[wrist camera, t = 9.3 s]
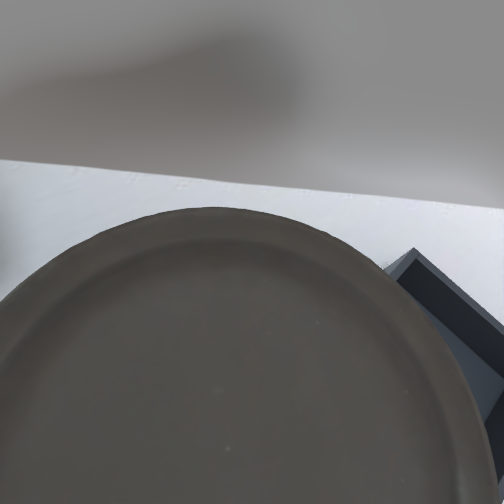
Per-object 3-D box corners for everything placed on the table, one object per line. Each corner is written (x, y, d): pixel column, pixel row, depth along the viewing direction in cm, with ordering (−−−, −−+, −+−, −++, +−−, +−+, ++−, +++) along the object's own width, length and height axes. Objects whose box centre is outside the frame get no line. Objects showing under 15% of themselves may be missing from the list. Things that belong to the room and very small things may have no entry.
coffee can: (75, 384, 19) (-181, 329, 6) (247, 300, 22) (316, 149, 9) (151, 603, 16) (-46, 1420, 3) (337, 470, 19) (628, 597, 6)
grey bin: (283, 380, 33) (300, 375, 28) (384, 269, 39) (414, 247, 34) (424, 530, 30) (474, 557, 25) (510, 383, 36) (565, 379, 31)
